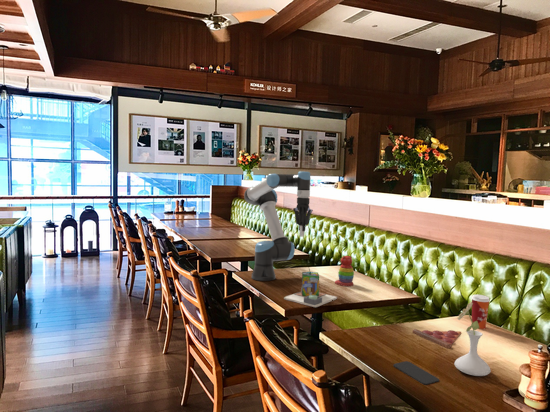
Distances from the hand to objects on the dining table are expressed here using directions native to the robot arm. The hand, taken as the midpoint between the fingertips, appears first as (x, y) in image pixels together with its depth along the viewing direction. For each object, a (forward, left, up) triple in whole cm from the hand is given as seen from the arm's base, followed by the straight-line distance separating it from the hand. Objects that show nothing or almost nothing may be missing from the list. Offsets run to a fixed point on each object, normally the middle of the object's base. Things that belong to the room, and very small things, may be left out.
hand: (301, 236), depth 252 cm
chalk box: (+19, -17, -29) cm, 38 cm away
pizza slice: (+93, -25, -30) cm, 101 cm away
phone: (+96, -67, -30) cm, 121 cm away
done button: (+28, -28, -28) cm, 48 cm away
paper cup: (+101, -2, -30) cm, 105 cm away
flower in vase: (+110, -53, -30) cm, 126 cm away
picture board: (+22, -21, -29) cm, 42 cm away
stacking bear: (+20, +20, -30) cm, 41 cm away
